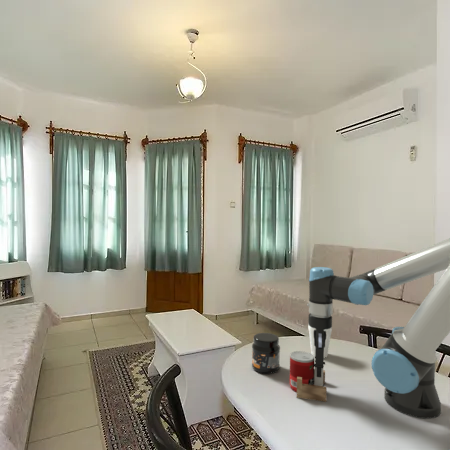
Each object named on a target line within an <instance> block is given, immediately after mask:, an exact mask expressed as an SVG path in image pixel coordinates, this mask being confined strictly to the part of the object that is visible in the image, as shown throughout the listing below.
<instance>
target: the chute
mask: <svg viewBox="0 0 450 450" xmlns="http://www.w3.org/2000/svg"><path fill="white" fill-rule="evenodd" d="M314 378H315V368H314ZM325 384H326V370H324V369H323V386H317V385H309V384H302V377H297V392H296V398H299V399H305V400H311V401H317V402H324V403H326V402H327V386H324V385H325Z"/></svg>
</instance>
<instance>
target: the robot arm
mask: <svg viewBox="0 0 450 450" xmlns="http://www.w3.org/2000/svg"><path fill="white" fill-rule="evenodd" d="M441 271H444V272H443V273H442V274H441V276H440V277H439V278H438V280H437V281H436V283H435V284H434V285H433V287H432V288H431V290H430V291H429V292H428V294H427V295H426V296H425V298H424V300H422V302H421V303H420V305H419V306H418V308H417V309H416V310H415V312H414V313H413V314H412V316H411V317H410V319H409V320H408V322H407V323H406V324H405V325H404V326H395V327H393V328H392V332H391V334H390V336H389V337H388V338H387V339H386V341H385V343H384V344H383V345H382V346H381V348H380V349H378V350H376V352H374V354H373V357H372V359H371V369H372V372H373V375H374V377H375V379H376V380H377V381H378V383H380V384H381V386H383V387H384V397H383V398H384V401H385V402H386V403H387V404H388V405H389V406H390V407H391V408H393V409H394V410H396V411H398V412H400V413H402V414H404V415H407V416H411V417H414V418H420V419H432V418H433V419H434V418H437V417H439V416H440V414H441V411H442V410H441V409H442V405H441V404H442V403H441V400H440V397H439V394H438V391H437V389H436V385H435V375H436V373H435V372H436V362H437V359H438V358H437V355H436V350H437V349H438V348H439V346H441V344H442V343H443V342H444V340H445V339H446V338H447V336H448V335H450V237H449V238H447V239H445V240H442V241H440V242H437V243H434V244H433V245H429V246H427V247H425V248H422V249H420V250H418V251H417V250H416V252H413V253H411V254H408V255H406V256H403V257H400V258H398V259H395V260H393V261H391V262H389V263H385V264H384V265H380V266H377V267H376V268H374V269H371V270H369V271H366V272H364V273H361V274H357V275H354V276H351V277H347V276H339V275H335V273H334V269H332V268H331V267H326V266H325V267H324V266H315V267H314V266H313V267H311V268H310V270H309V280H308V282H309V283H308V284H309V285H308V289H309V290H308V293H309V295H308V296H309V297H308V302H307V304H306V306H307V307H308V313H309V314H308V317H307V319H308V320H307V321H308V324H309V326H310V327H312V328H316V330H314V346H315V357H314V365H313V366H314V369H315V378H314V385H317V386H324V384H323V370H324V366H325V365H326V362H325V361H324V360H325V358H324V347H325V340H326V331H324V330H325V329H330V328H331V327H332V328H333V316H332V315H333V308H334V305H333V300H335V301H340V302H346V303H349V304H354V305H357V306H358V305H361V306H369V305H370V303H371V302H372V300H373V297H374V295H377V294H379V293H380V294H381V293H383V292H385V291H389V290H390V289H393V288H397V287H399V286H402V285H405V284H407V283H411V282H414V281H416V280H419V279H422V278H424V277H428V276H431V275H433V274H436V273H438V272H439V273H440V272H441ZM308 324H307V325H308Z"/></svg>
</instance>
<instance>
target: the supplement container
mask: <svg viewBox="0 0 450 450" xmlns="http://www.w3.org/2000/svg"><path fill="white" fill-rule="evenodd" d="M252 339H253V340H252V341H253V343H252V345H251V347H252V349H251V350H252V351H251V352H252V354H251V356H252V357H251V359H252V360H251V367H252V368H253V370H254V371H255V372H258V373H260V374H267V375H269V374H274V373H276V372H278V371H279V369H280V367H281V366H280V365H281V364H280V358H281V357H280V352H281V351H280V350H281V345H280V344H279V343H280V338H279V336H278V335H277V334H274V333H271V332H259V333H256V334H254V335H253V338H252Z"/></svg>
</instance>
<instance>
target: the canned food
mask: <svg viewBox="0 0 450 450" xmlns="http://www.w3.org/2000/svg"><path fill="white" fill-rule="evenodd" d="M314 364H315V357H314V356H313V355H312V354H311V353H310V352H307V351H303V350H302V351H301V350H299V351H298V350H296V351H292V352H291V353H290V354H289V386H290V387H289V388H290V389H291V390H292V391H294V392H295V393H297V377H302V384H309V385H314V369H315V367H314V366H313V365H314Z"/></svg>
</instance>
